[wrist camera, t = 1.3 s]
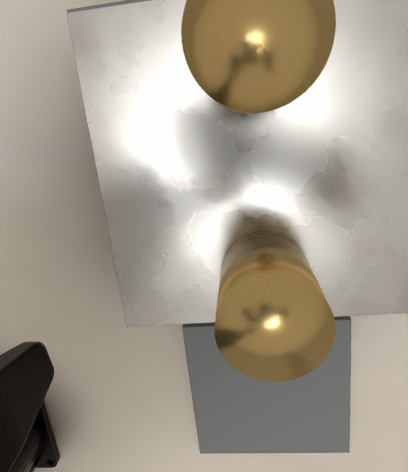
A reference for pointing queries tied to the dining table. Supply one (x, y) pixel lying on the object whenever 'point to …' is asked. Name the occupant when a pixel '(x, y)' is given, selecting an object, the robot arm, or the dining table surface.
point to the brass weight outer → (257, 49)
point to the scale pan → (247, 162)
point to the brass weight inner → (271, 309)
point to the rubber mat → (269, 400)
